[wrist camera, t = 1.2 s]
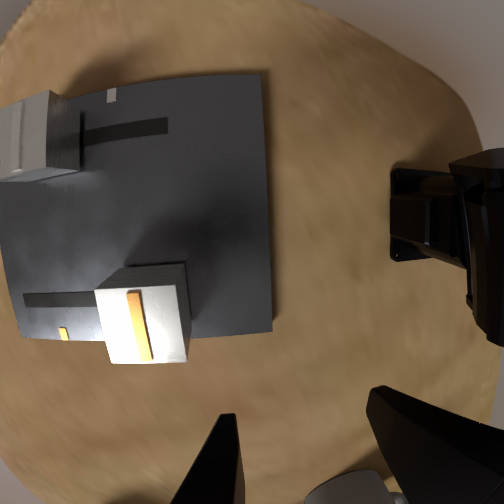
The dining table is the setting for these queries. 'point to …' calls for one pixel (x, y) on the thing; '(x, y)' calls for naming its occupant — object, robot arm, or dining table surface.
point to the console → (148, 209)
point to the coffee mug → (355, 490)
